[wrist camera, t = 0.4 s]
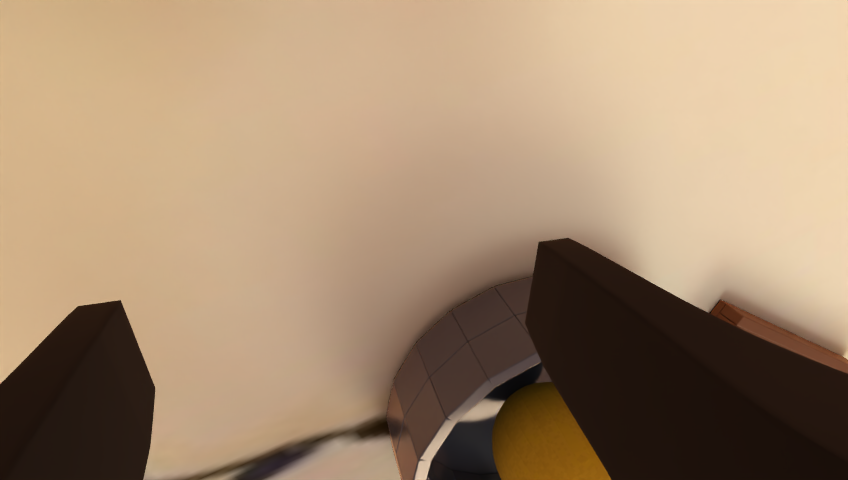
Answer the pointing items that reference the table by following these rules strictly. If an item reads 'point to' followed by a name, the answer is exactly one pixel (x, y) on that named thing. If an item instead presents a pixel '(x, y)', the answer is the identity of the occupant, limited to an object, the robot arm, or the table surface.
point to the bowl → (462, 386)
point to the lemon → (542, 439)
